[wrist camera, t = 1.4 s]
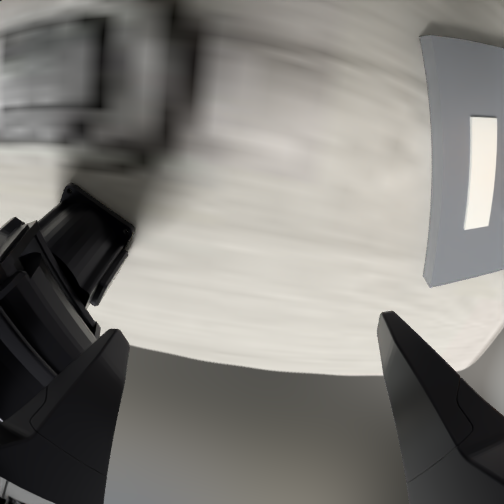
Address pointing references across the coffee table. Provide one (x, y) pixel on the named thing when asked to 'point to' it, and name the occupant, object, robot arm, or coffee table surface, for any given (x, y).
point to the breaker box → (465, 159)
